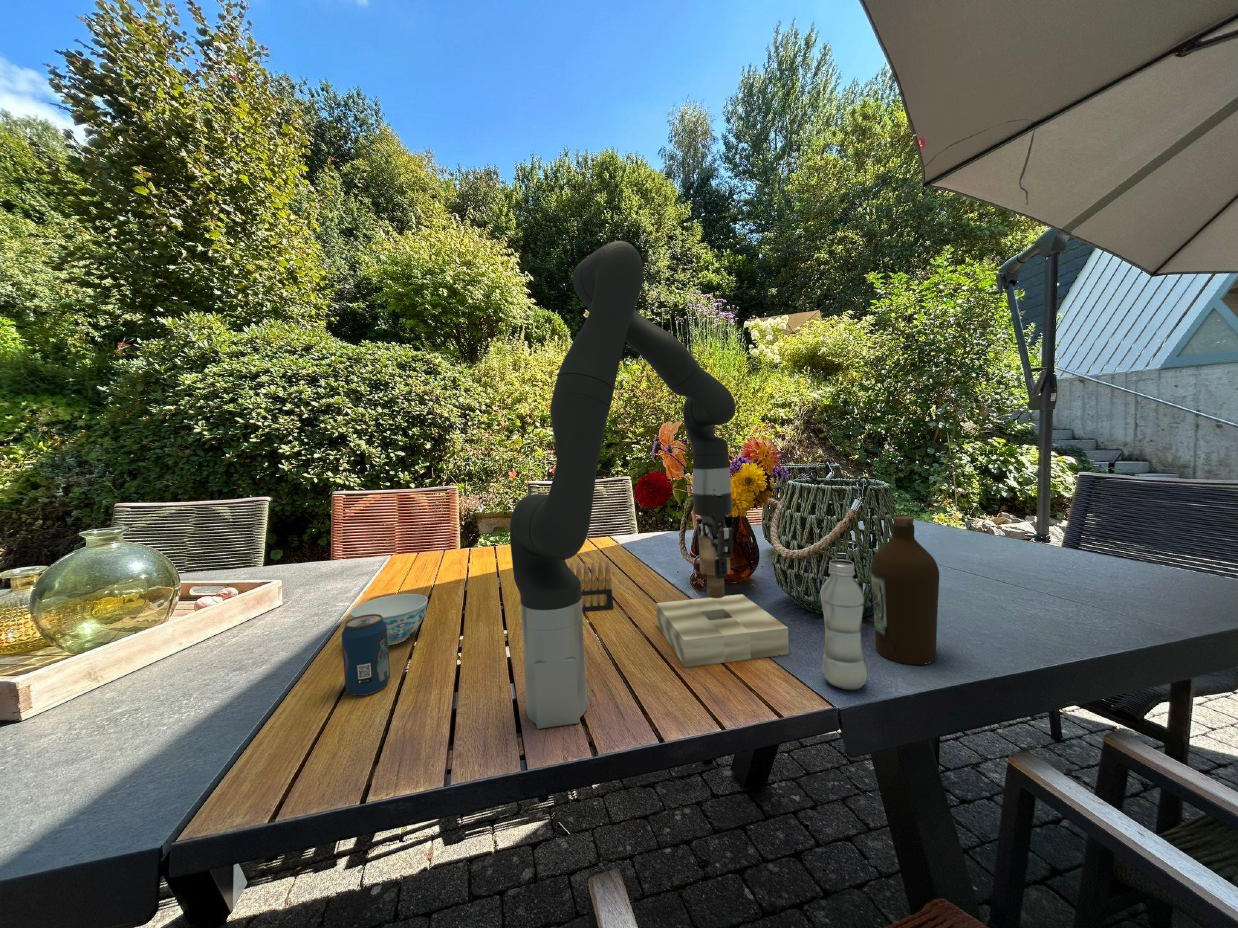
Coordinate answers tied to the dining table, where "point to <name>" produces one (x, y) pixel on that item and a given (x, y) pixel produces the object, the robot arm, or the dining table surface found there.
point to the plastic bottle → (843, 627)
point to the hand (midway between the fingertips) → (715, 573)
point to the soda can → (365, 654)
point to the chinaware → (396, 613)
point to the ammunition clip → (595, 587)
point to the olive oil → (905, 597)
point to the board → (720, 630)
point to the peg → (711, 568)
